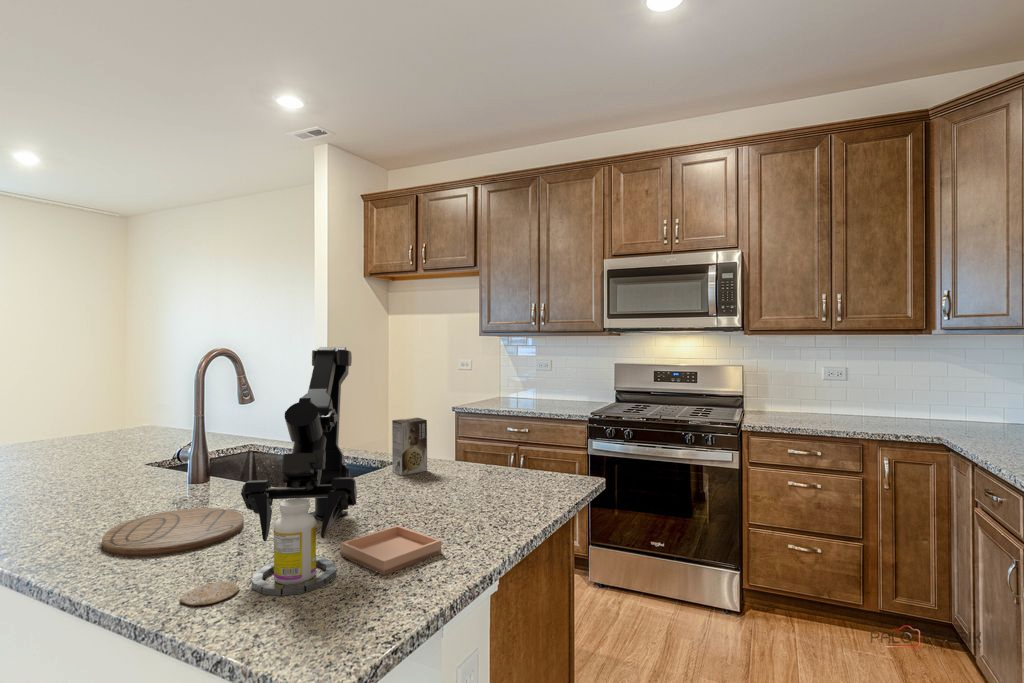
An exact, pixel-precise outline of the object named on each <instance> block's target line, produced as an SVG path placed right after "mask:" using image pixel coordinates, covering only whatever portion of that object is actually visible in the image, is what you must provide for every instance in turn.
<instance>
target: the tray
mask: <svg viewBox="0 0 1024 683" xmlns="http://www.w3.org/2000/svg"><path fill="white" fill-rule="evenodd" d="M440 554H442V540H441V539H439V538H435V537H432V536H431V535H430V536H429V535H427V534H424V533H422V532H418V531H415V530H413V529H409V528H407V527H405V526H401V525H394V526H392V527H388V528H384V529H382V530H379V531H375V532H372V533H368V534H366V535H362V536H359V537H356V538H353V539H349V540H346V541H343V542H340V556H341V557H342V556H343V558H344V557H346V558H345V559H347V558H348V559H347V560H349V559H350V560H349V561H351V560H352V561H351V562H353V561H354V563H355V562H357V563H356V564H358V563H359V564H358V565H360V564H361V565H360V566H362V565H363V567H364V566H365V567H364V568H367V567H368V568H367V569H369V568H370V569H369V570H371V569H372V570H371V571H373V570H374V571H373V572H375V571H377V572H376V573H378V572H379V573H378V574H379V575H382V574H383V576H386V575H389V574H391V573H394V572H397V571H399V570H401V569H404V568H406V567H410V566H412V565H414V564H417V563H420V562H422V561H425V560H427V559H430V558H433V557H435V556H437V555H440Z"/></svg>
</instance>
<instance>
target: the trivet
mask: <svg viewBox="0 0 1024 683" xmlns="http://www.w3.org/2000/svg"><path fill="white" fill-rule="evenodd" d="M244 521H245V519H244V515H243V514H242V513H241V512H239V511H236V510H233V509H229V508H220V507H199V508H187V509H185V508H184V509H177V510H170V511H164V512H158V513H153V514H150V515H146V516H145V515H144V516H142V517H138V518H134V519H132V520H128V521H125V522H122V523H121V524H119V525H116V526H114V527H112V528H110V529H109V530H108V531H106V532H105V533H104V535H103V536H102V538H101V547H102V549H103V551H104V552H106V553H108V554H111V555H114V556H121V557H127V558H128V557H133V558H134V557H137V558H138V557H139V558H143V557H144V558H145V557H156V556H159V557H160V556H167V555H172V554H173V555H175V554H179V553H186V552H189V551H193V550H198V549H202V548H206V547H208V546H212V545H215V544H218V543H222V542H223V541H225V540H228V539H230V538H233V537H234V536H235V535H237V534H238V533H240V532H241V531H242V529H243V528H244V527H245V526H244V525H245V524H244V523H245V522H244Z"/></svg>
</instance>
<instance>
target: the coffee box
mask: <svg viewBox="0 0 1024 683" xmlns="http://www.w3.org/2000/svg"><path fill="white" fill-rule="evenodd" d="M391 420H392V424H391V425H392V426H391V427H392V429H391V430H392V433H391V434H392V438H391V439H392V441H391V442H392V445H391V447H392V448H391V449H392V450H391V452H392V467H391V470H392V473H395V474H397V475H400V476H406V475H411V474H417V473H422V472H427V471H428V422H427V421H428V420H427V419H424V418H421V417H412V418H411V417H410V418H409V417H408V418H400V419H394V420H393V419H391Z"/></svg>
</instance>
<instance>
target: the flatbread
mask: <svg viewBox="0 0 1024 683" xmlns="http://www.w3.org/2000/svg"><path fill="white" fill-rule="evenodd" d="M239 590H240V587H239V585H237V584H235V583H234V582H231V581H226V582H225V581H224V582H223V581H222V582H221V581H220V582H217V581H216V582H207V583H205V584H202V585H200V586H197V587H195V588H193V589H190V590H188V591H186V592H185V593H183V595H182V596H181V598H179V602H180V603H182V604H184V605H188V606H192V607H193V606H206V605H210V604H214V603H218V602H221V601H225V600H226V599H229V598H231V597H233V596H235V594H237V593H238V592H239Z"/></svg>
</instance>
